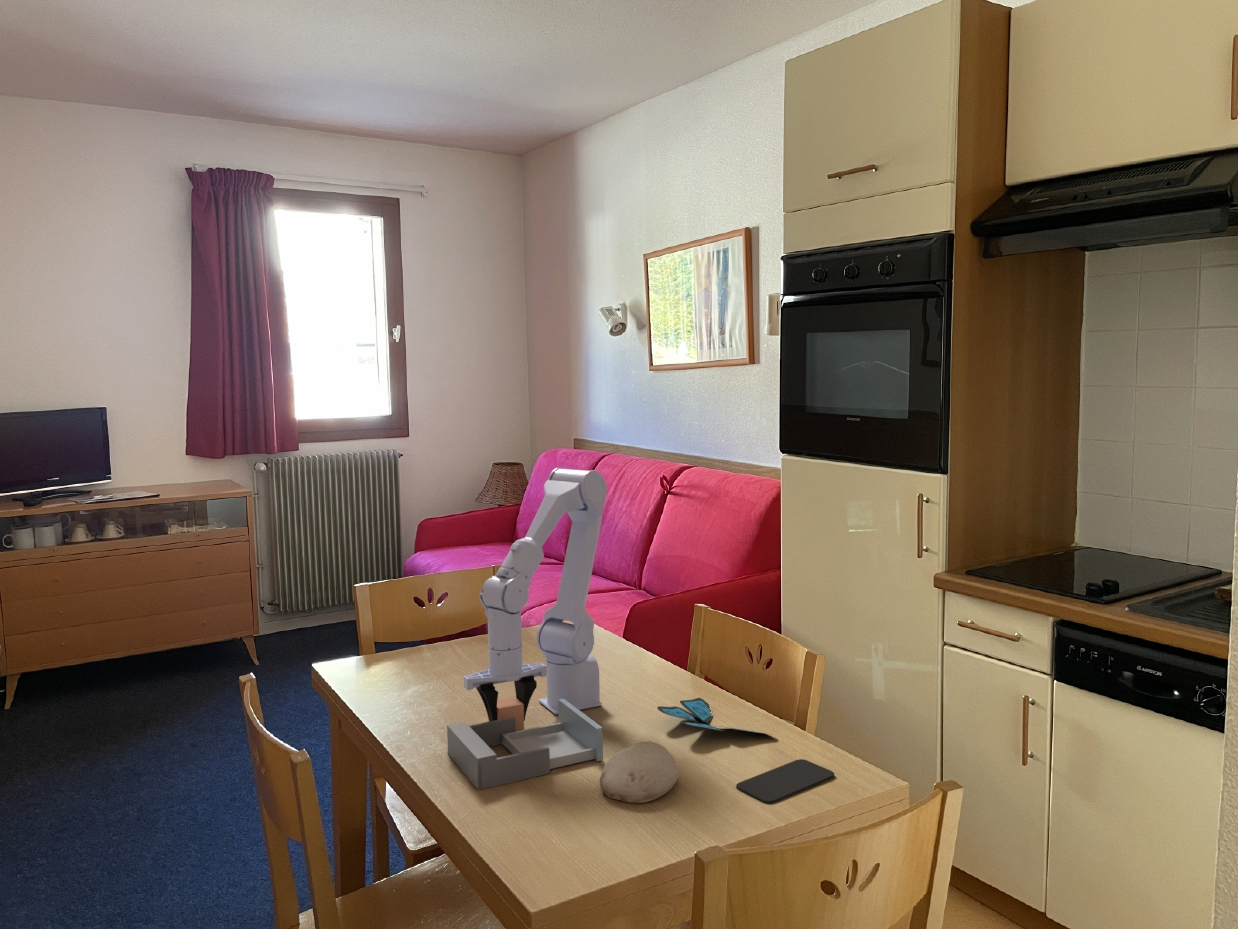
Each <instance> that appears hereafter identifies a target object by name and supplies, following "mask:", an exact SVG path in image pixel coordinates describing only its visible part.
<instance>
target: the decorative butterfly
mask: <svg viewBox="0 0 1238 929" xmlns="http://www.w3.org/2000/svg"><path fill="white" fill-rule="evenodd" d="M679 703H680V704H681V705H682V706H683V707H684V708H685V709H686V710H685V709H684V708H682V707H679V706H660V705H659V706H656V707H657V710H658V711H659V712H661V713H663V714H665V715H668V716H671V717H676V718H679V719H684V720H687V721H688V720H689V721H690V722H687V721H680V723H681V724H684V725H687V726H692V727H697V728H703V729H708V730H709V729H711V730H715V731H722V732H725V730H723V729H721V728H723V726H720V725H719V727H720V728H718V727H717V725H711V724H710V721H711V720H713V718H714V716H713V717H712V716H711V715H712V714H711V713H710V712H711V710H710V709H709V708H710V707H709V705H710V704H709V703H708V702H707V701H706V700H704V699H703V698H701V697H697V698H694V699H686V700H679ZM691 721H692V722H691ZM724 728H727V729H729V726H724ZM730 729H733V730H737V731H742V729H741V728H740V729H739V728H734V727H730ZM743 731H745V732H748V730H746V729H743ZM749 732H752V733H754V731H752V730H749ZM756 733H759V734H760V732H757V731H756ZM762 734H764V735H765V734H766V733H765V732H762ZM769 735H772V733H771V734H770V733H769Z"/></svg>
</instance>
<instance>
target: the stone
mask: <svg viewBox="0 0 1238 929" xmlns="http://www.w3.org/2000/svg"><path fill="white" fill-rule="evenodd" d="M678 778H679V768H678V764H677V761H676V760H675V758H674V757H673V755H672V754H671V752H669V750H668V749H667V748H666V747H665V746H664V745H662V744H660V743H657V742H654V741H651V740H647V741H643V742H639V743H636V744H633V745H631V746H628V747H625V748H623V749H621V750H619V751H618V752H617V753H615V754H614V755H612V756H611V757H610V758H609V759H608V760H607V761H606V762H605V763H604V765H603V768H602V770H601V772H600V777H599V785H600V789H601V791H602V792H603V793H604V794H605V795H606V796H608V797H609V798H610V799H613V800H617V801H618V800H619V801H622V802H625V803H629V804H630V803H632V804H643V803H649V802H652V801H654V800H657V799H658V798H660V797H662V796H664V795H665V794H667V792H670V791H671V789H672V788H673V787H674V785H675V784H676V783H677V781H678Z"/></svg>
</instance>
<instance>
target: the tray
mask: <svg viewBox="0 0 1238 929" xmlns="http://www.w3.org/2000/svg"><path fill="white" fill-rule="evenodd" d="M558 707H559V714H558V722H556V723H551V724H547V725H541V726H537V727H531V728H524V730H520V731H516V732H511V733H506V734H502V744H501V745H503V747H504V748H506V749H507V750H508V751H509V752H510V753H511V755H513V754H518V753H522V752H527V751H532V750H536V749H541V748H545V747H548V748H549V754H550V770H551V769H556V768H560V767H564V766H565V767H566V766H568V765H569V766H570V765H574V764H579V763H582V762H587V761H590V760H591V761H592V760H595V761H597V762H600V761H603V760H604V743H603V742H604V741H603V740H604V737H603V734H604V733H603V732H604V731H603V730H604V729H603V727H602V726H601V725H600V724H598V723H597V722H596V721H594V720H593V719H592V718H591V717H589V716H587V715H586V714H585V713H584V712H582V711H581V710H578V709H577V708H576V707H574V706H573V705H572V704H570V703H569V702H568V701H566V700H565V699H559V700H558Z"/></svg>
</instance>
